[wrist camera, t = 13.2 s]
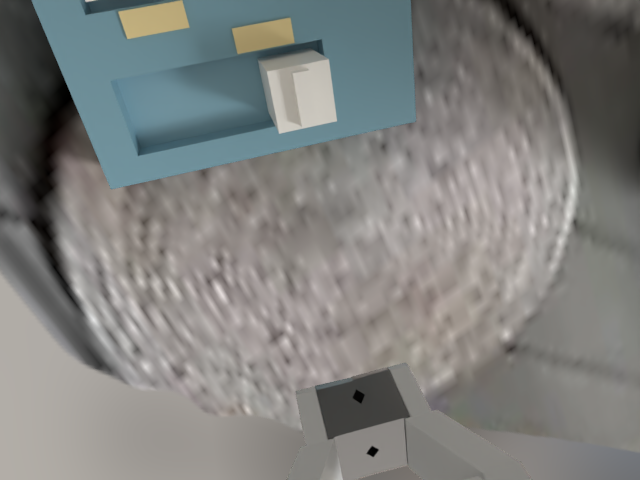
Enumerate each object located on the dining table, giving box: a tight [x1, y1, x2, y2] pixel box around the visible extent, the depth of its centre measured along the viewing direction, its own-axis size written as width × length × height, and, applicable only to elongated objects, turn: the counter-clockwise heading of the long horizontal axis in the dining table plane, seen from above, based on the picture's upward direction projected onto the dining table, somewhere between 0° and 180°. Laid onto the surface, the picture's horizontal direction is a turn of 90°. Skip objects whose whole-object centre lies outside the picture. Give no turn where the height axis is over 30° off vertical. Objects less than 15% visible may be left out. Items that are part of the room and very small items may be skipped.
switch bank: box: [31, 0, 416, 189], centre depth 24 cm, size 18×14×4 cm
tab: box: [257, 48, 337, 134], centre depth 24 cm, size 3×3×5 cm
